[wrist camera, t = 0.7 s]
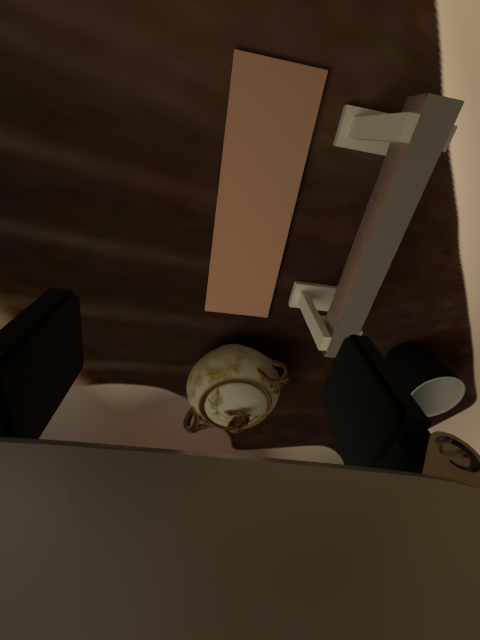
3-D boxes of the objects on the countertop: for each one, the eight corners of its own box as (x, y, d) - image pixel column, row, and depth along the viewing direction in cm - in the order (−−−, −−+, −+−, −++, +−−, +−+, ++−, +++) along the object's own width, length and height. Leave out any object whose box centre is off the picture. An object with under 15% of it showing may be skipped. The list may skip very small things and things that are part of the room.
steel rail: (407, 96, 26) (428, 92, 24) (439, 104, 27) (464, 101, 24) (317, 341, 40) (323, 356, 38) (339, 343, 41) (347, 358, 38)
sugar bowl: (258, 304, 47) (271, 368, 35) (300, 363, 54) (324, 433, 42) (162, 360, 52) (144, 434, 40) (212, 407, 59) (210, 482, 47)
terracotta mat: (234, 50, 31) (234, 49, 30) (325, 71, 32) (328, 70, 31) (205, 308, 47) (204, 310, 46) (266, 314, 48) (267, 317, 48)
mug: (368, 357, 55) (395, 399, 46) (412, 327, 51) (451, 367, 43) (400, 388, 59) (430, 432, 51) (442, 363, 56) (482, 405, 48)
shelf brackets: (344, 105, 34) (403, 93, 23) (408, 118, 35) (494, 114, 24) (288, 303, 47) (308, 355, 36) (335, 309, 48) (369, 361, 38)
